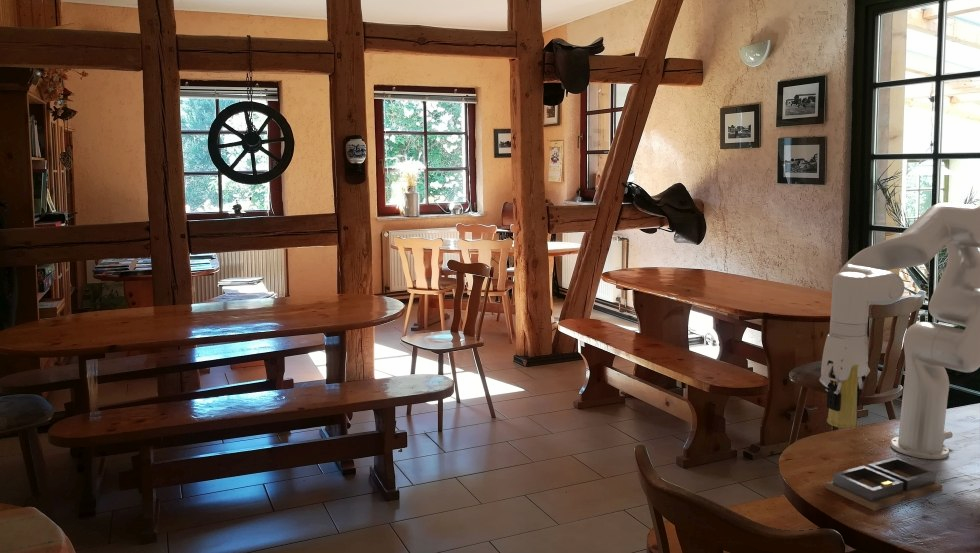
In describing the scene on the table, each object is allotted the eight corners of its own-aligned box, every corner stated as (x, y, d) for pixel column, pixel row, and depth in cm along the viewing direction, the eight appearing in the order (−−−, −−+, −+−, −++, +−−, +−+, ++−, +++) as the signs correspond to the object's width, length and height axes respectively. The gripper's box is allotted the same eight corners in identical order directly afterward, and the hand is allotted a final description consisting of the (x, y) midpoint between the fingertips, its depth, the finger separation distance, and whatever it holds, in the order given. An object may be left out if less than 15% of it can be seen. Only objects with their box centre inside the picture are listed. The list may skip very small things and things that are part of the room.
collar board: (892, 469, 185) (892, 464, 184) (941, 490, 174) (942, 485, 174) (825, 488, 174) (825, 482, 174) (874, 510, 164) (874, 505, 164)
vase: (859, 429, 178) (864, 367, 175) (829, 427, 179) (834, 365, 176) (852, 419, 184) (857, 359, 181) (824, 417, 185) (828, 357, 182)
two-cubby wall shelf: (895, 467, 183) (896, 454, 183) (935, 483, 175) (936, 469, 174) (832, 484, 174) (834, 470, 173) (871, 502, 165) (873, 488, 165)
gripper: (859, 320, 185) (854, 395, 188) (807, 330, 177) (802, 408, 180) (889, 327, 178) (883, 405, 181) (835, 337, 170) (830, 419, 174)
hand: (843, 406), depth 181 cm, fingers closed on vase, 5 cm apart
